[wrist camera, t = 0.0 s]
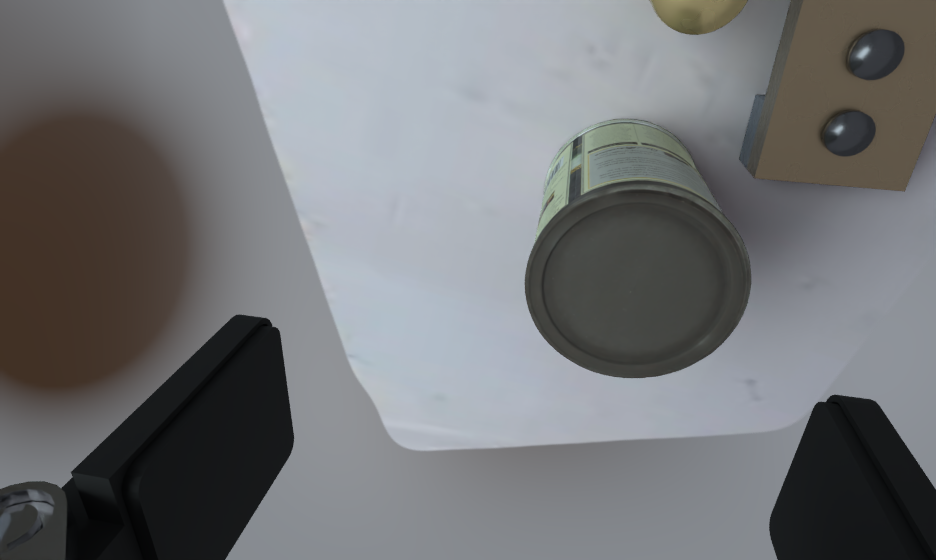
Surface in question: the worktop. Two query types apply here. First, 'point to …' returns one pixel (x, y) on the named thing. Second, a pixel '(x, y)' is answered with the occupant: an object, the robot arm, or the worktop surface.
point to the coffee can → (633, 255)
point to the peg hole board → (847, 95)
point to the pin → (697, 14)
